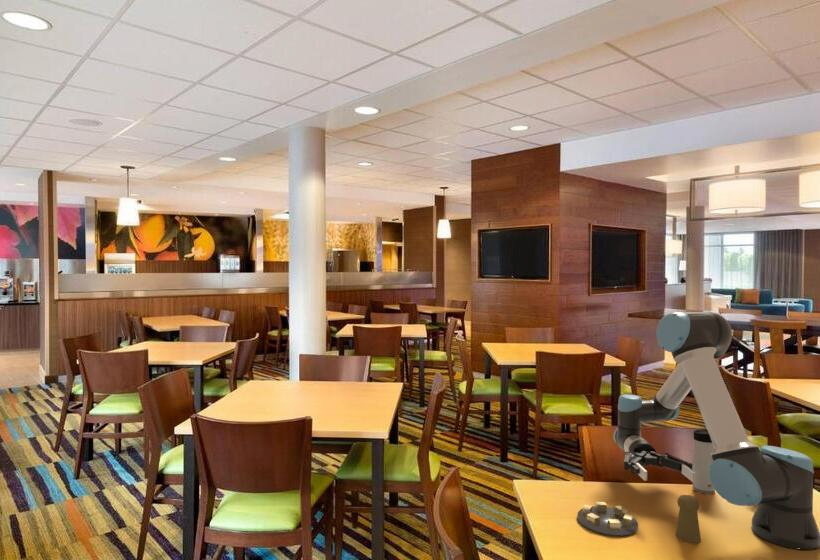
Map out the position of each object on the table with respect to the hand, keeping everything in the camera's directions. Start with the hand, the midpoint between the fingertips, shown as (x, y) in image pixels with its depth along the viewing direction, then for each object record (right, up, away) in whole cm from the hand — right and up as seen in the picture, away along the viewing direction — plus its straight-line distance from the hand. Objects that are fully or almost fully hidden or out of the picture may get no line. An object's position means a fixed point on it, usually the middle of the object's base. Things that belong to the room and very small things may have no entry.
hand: (669, 476), depth 147 cm
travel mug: (+22, -13, +21) cm, 33 cm away
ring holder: (-19, -12, -2) cm, 23 cm away
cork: (0, -13, -10) cm, 16 cm away
